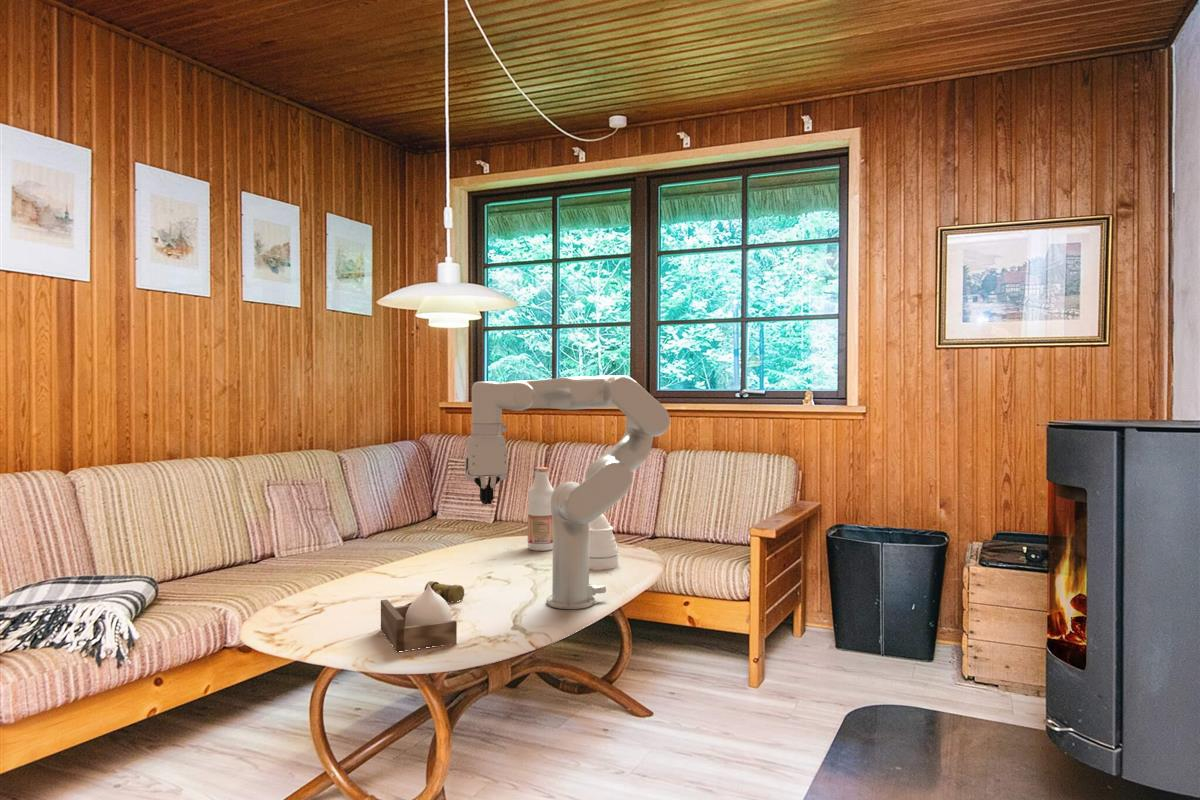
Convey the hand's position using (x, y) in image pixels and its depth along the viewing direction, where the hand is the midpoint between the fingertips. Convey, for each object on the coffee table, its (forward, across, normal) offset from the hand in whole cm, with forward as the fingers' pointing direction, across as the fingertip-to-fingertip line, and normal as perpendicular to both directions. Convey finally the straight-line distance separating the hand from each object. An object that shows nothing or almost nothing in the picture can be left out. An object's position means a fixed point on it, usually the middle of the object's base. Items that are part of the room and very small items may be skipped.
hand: (486, 503), depth 199 cm
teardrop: (+27, +18, +13) cm, 35 cm away
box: (+27, +20, +13) cm, 36 cm away
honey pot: (+27, -48, -33) cm, 64 cm away
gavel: (+28, +13, -10) cm, 32 cm away
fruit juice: (+27, -41, -63) cm, 80 cm away
